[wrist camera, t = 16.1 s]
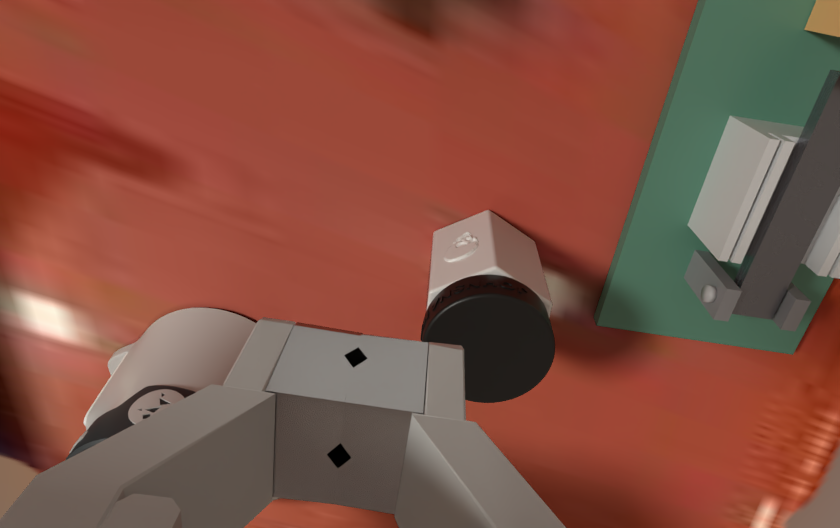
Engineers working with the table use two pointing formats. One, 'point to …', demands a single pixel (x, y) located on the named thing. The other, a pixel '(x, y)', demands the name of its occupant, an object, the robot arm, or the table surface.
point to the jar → (490, 306)
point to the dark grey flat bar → (794, 209)
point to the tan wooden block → (825, 18)
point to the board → (682, 151)
